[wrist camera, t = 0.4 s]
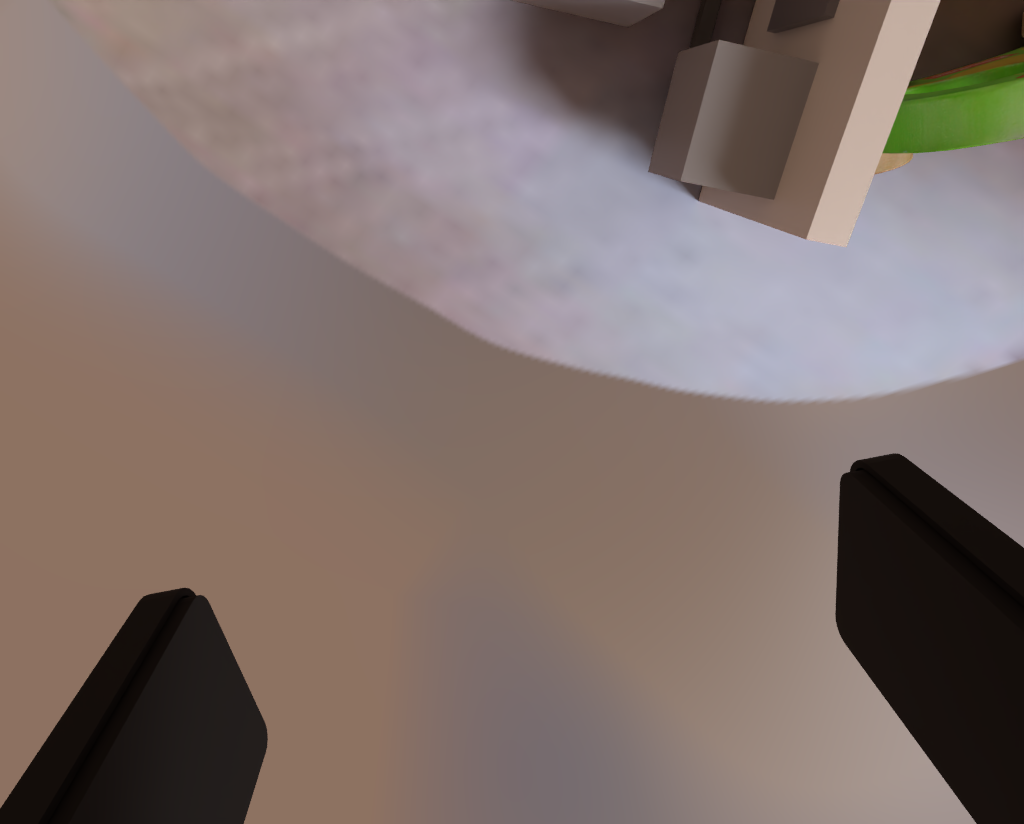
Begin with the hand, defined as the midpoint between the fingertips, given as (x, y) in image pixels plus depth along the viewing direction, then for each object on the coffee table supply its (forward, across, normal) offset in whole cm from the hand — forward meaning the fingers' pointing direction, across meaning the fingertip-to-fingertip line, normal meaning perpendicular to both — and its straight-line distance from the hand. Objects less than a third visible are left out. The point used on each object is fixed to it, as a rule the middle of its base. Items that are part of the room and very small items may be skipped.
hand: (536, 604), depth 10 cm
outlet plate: (+28, -13, -8) cm, 32 cm away
